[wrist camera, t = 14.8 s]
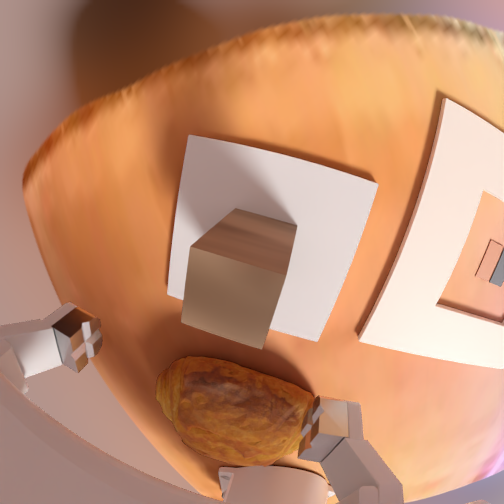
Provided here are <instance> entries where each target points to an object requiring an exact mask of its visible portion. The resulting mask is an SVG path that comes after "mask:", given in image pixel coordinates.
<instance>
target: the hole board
mask: <svg viewBox="0 0 504 504" xmlns="http://www.w3.org/2000/svg"><path fill="white" fill-rule="evenodd" d="M483 190H484V191H486V192H487V193H489V194H491V195H493V196H494V197H496V198H498V199H499V200H501V201H502V202H504V133H503V132H501V131H500V130H498V129H497V128H495V127H494V126H492V125H491V124H489V123H488V122H486V121H485V120H483V119H482V118H480V117H479V116H477V115H475V114H474V113H472V112H470V111H469V110H467V109H465V108H464V107H462V106H460V105H458V104H456V103H455V102H453V101H451V100H449V99H447V98H445V99H443V100H442V105H441V111H440V116H439V121H438V125H437V130H436V134H435V139H434V143H433V147H432V151H431V155H430V159H429V162H428V166H427V169H426V173H425V176H424V180H423V183H422V186H421V190H420V193H419V196H418V199H417V202H416V205H415V208H414V211H413V214H412V217H411V219H410V222H409V225H408V228H407V230H406V233H405V236H404V238H403V241H402V243H401V246H400V248H399V251H398V253H397V256H396V258H395V261H394V263H393V265H392V268H391V270H390V272H389V275H388V277H387V279H386V281H385V283H384V286H383V288H382V290H381V292H380V294H379V296H378V298H377V301H376V303H375V305H374V307H373V309H372V311H371V313H370V315H369V317H368V319H367V321H366V323H365V325H364V326H363V328H362V330H361V332H360V334H359V336H358V339H359V342H363V343H367V344H372V345H376V346H380V347H385V348H389V349H394V350H398V351H403V352H407V353H412V354H417V355H422V356H427V357H432V358H437V359H443V360H448V361H454V362H459V363H465V364H471V365H478V366H484V367H491V368H498V369H504V320H503V322H502V323H500V322H497V321H494V320H491V319H487V318H484V317H481V316H477V315H474V314H471V313H468V312H464V311H461V310H458V309H454V308H451V307H448V306H444V305H441V304H438V303H437V302H438V300H439V298H440V296H441V294H442V292H443V290H444V288H445V286H446V284H447V282H448V280H449V278H450V276H451V274H452V271H453V269H454V267H455V265H456V263H457V260H458V258H459V256H460V253H461V251H462V249H463V246H464V244H465V241H466V239H467V236H468V233H469V231H470V228H471V225H472V223H473V220H474V217H475V214H476V211H477V208H478V205H479V202H480V199H481V195H482V192H483ZM502 249H503V246H501V245H499V244H498V243H496V242H494V241H492V240H491V241H490V243H489V246H488V248H487V251H486V253H485V256H484V258H483V260H482V263H481V265H480V267H479V269H478V271H477V274H476V277H478V278H481V279H483V280H486V281H489V279H490V277H491V274H492V272H493V270H494V268H495V266H496V263H497V261H498V259H499V256H500V254H501V252H502ZM503 281H504V250H503V252H502V255H501V257H500V260H499V262H498V264H497V266H496V269H495V271H494V273H493V275H492V277H491V279H490V282H491V283H493V284H495V285H498V286H500V287H501V285H502V283H503Z"/></svg>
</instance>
